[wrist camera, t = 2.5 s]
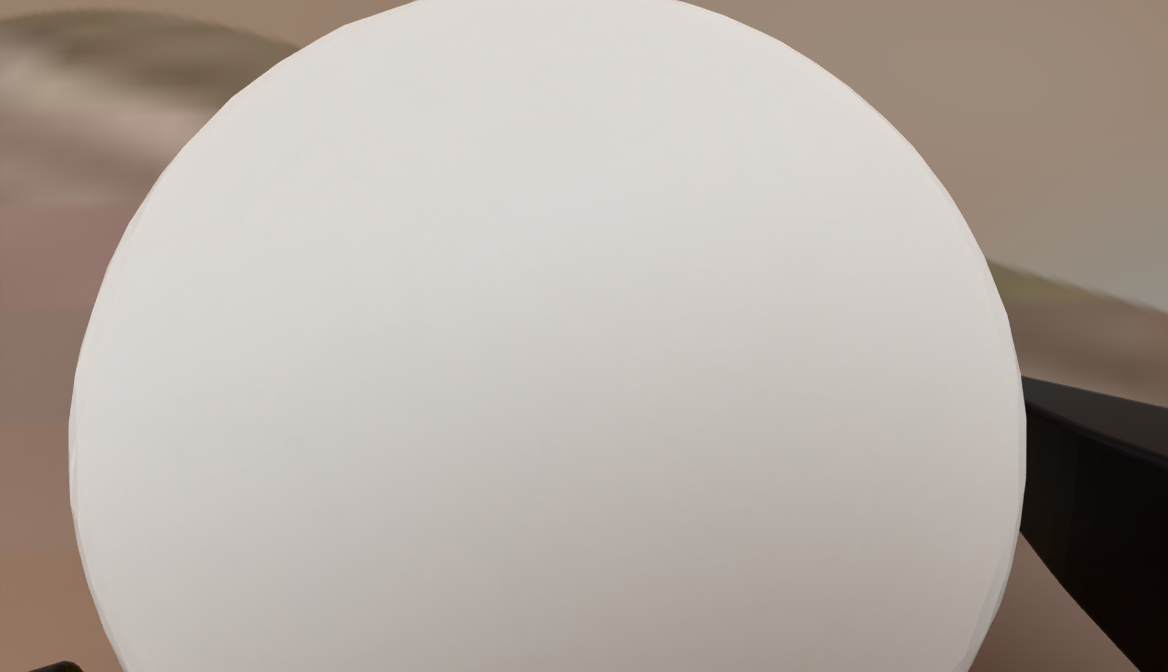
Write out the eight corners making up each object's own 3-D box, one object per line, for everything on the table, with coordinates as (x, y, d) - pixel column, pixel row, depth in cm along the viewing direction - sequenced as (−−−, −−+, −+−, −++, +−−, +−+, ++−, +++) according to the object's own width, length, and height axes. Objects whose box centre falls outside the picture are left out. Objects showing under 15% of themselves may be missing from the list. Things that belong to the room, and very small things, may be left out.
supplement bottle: (307, 641, 15) (-570, 684, 3) (480, 342, 18) (324, -297, 5) (630, 820, 15) (1020, 1723, 3) (771, 485, 17) (1346, 112, 5)
